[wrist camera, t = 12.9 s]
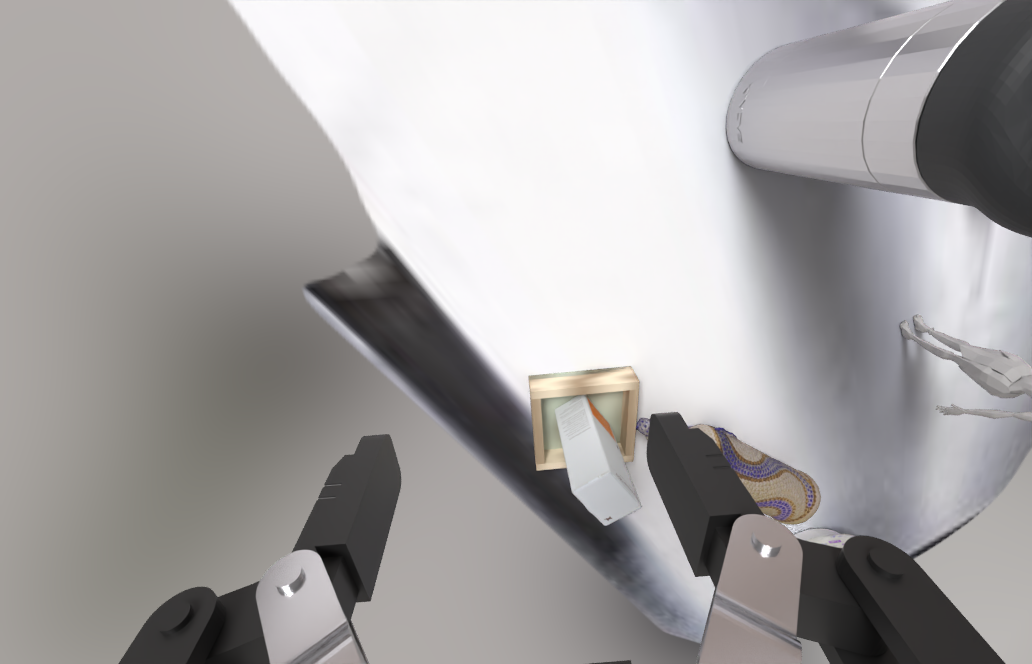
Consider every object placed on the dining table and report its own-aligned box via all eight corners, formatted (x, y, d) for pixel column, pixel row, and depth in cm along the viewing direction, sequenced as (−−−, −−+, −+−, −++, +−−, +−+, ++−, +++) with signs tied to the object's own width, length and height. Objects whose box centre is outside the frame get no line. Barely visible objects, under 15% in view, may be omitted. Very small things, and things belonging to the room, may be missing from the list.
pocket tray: (630, 366, 45) (639, 381, 42) (625, 443, 50) (633, 461, 47) (528, 375, 45) (530, 391, 42) (534, 452, 50) (536, 470, 47)
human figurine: (969, 289, 42) (1257, 389, 26) (971, 315, 44) (1245, 426, 28) (853, 344, 45) (1050, 467, 29) (859, 368, 46) (1050, 497, 30)
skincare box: (610, 422, 47) (644, 508, 37) (580, 439, 48) (604, 528, 38) (583, 389, 45) (611, 472, 34) (552, 408, 46) (569, 494, 35)
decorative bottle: (800, 459, 53) (837, 502, 47) (757, 494, 56) (788, 538, 50) (653, 380, 46) (676, 419, 40) (612, 425, 49) (628, 467, 43)
